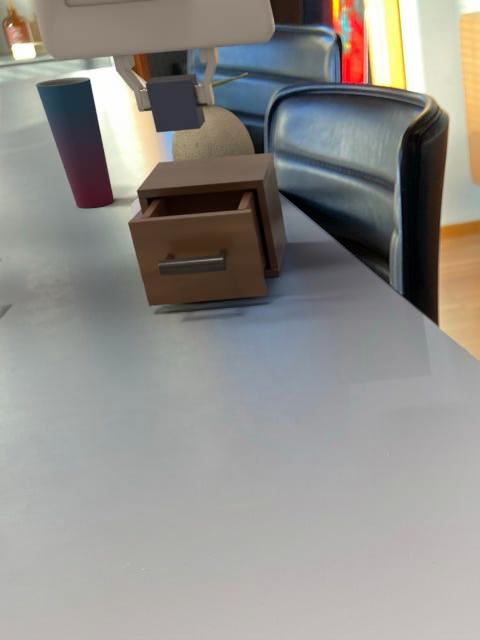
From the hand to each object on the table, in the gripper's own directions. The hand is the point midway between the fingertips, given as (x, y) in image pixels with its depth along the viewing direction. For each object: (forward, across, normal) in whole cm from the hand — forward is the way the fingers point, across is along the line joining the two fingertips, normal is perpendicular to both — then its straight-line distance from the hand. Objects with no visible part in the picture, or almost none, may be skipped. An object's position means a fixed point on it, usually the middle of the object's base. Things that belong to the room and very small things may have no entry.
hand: (176, 107), depth 94 cm
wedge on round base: (+17, +8, -26) cm, 33 cm away
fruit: (+17, +4, -40) cm, 44 cm away
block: (+2, 0, 0) cm, 2 cm away
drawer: (+16, 0, +1) cm, 16 cm away
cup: (+17, +22, -46) cm, 54 cm away
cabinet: (+17, 0, -10) cm, 20 cm away
